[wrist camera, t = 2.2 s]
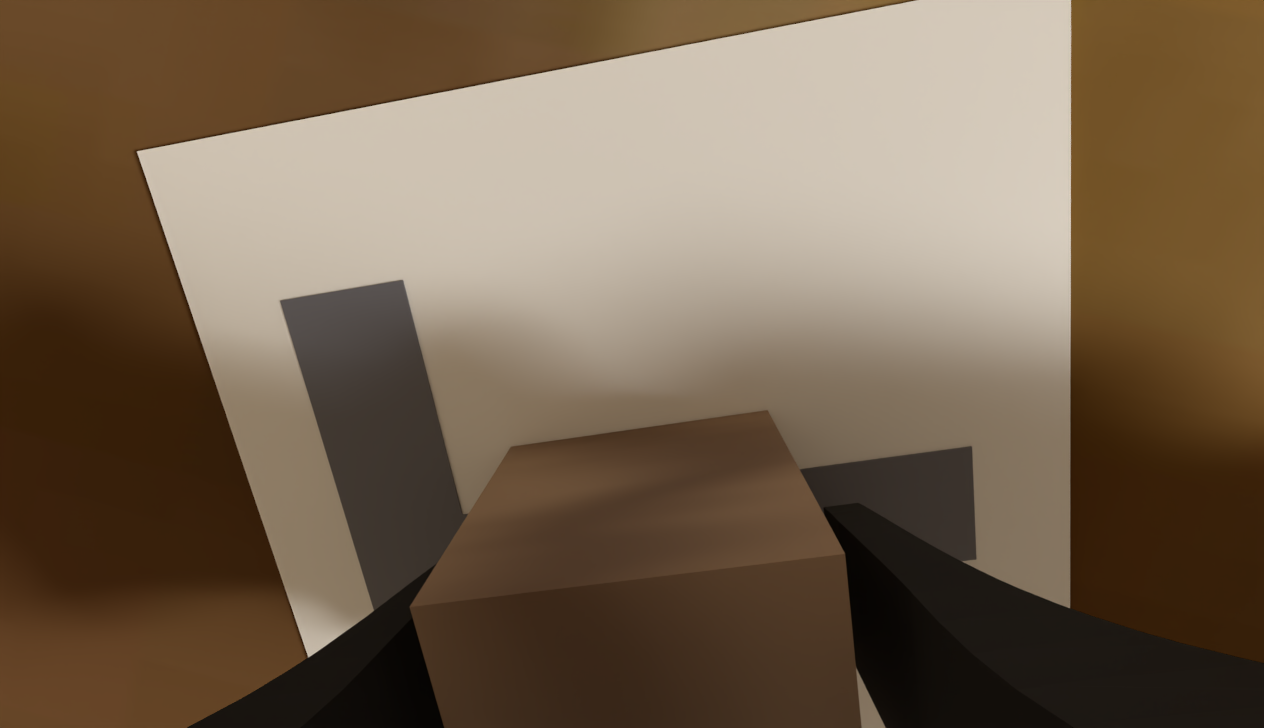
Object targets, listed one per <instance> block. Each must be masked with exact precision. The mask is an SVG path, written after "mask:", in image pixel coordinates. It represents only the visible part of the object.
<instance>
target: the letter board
mask: <svg viewBox="0 0 1264 728" xmlns="http://www.w3.org/2000/svg"><path fill="white" fill-rule="evenodd" d="M137 153H138V156H139V159H140V162H141V165H142V168H143V171H144V174H145V177H146V180H147V183H148V186H149V189H150V192H151V195H152V198H153V201H154V204H155V207H156V209H157V212H158V215H159V218H160V221H161V224H162V227H163V230H164V233H165V236H166V239H167V242H168V245H169V248H170V251H171V254H172V257H173V260H174V263H175V266H176V269H177V271H178V274H179V277H180V280H181V283H182V286H183V289H184V292H185V295H186V298H187V301H188V304H189V307H190V310H191V313H192V316H193V319H194V322H195V325H196V328H197V330H198V333H199V336H200V339H201V342H202V345H203V348H204V351H205V354H206V357H207V360H208V363H209V366H210V369H211V372H212V375H213V378H214V381H215V384H216V387H217V389H218V392H219V395H220V398H221V401H222V404H223V407H224V410H225V413H226V416H227V419H228V422H229V425H230V428H231V431H232V434H233V437H234V440H235V443H236V446H237V448H238V451H239V454H240V457H241V460H242V463H243V466H244V469H245V472H246V475H247V478H248V481H249V484H250V487H251V490H252V493H253V496H254V499H255V502H256V505H257V507H258V510H259V513H260V516H261V519H262V522H263V525H264V528H265V531H266V534H267V537H268V540H269V543H270V546H271V549H272V552H273V555H274V558H275V561H276V564H277V567H278V569H279V572H280V575H281V578H282V581H283V584H284V587H285V590H286V593H287V596H288V599H289V602H290V605H291V608H292V611H293V614H294V617H295V620H296V623H297V626H298V628H299V631H300V634H301V637H302V640H303V643H304V646H305V649H306V652H307V655H308V657H310V656H311V655H313V654H314V653H316V652H317V651H319V650H320V649H322V648H323V647H324V646H326V645H327V644H329V643H330V642H331V641H333V640H334V639H336V638H337V637H338V636H340V635H341V634H343V633H344V632H345V631H347V630H348V629H350V628H351V627H352V626H354V625H355V624H357V623H358V622H359V621H361V620H362V619H364V618H365V617H366V616H368V615H369V614H370V613H372V612H373V611H374V610H376V609H377V608H378V607H380V606H381V605H382V604H383V603H385V602H386V601H387V600H389V599H390V598H391V597H393V596H394V595H395V594H397V593H398V592H399V591H401V590H402V589H403V588H404V587H406V586H407V585H408V584H410V583H411V582H412V581H414V580H415V579H416V578H418V577H419V576H420V575H422V574H423V573H424V572H426V571H427V570H428V569H430V568H431V567H432V566H434V565H435V564H437V563H438V561H439V560H440V558H441V556H442V555H443V553H444V552H445V550H446V549H447V547H448V545H449V544H450V542H451V541H452V539H453V537H454V536H455V534H456V533H457V531H458V530H459V528H460V526H461V525H462V523H463V522H464V520H465V519H466V517H467V515H468V514H469V512H470V511H471V509H472V507H473V506H474V504H475V503H476V501H477V500H478V498H479V496H480V495H481V493H482V492H483V490H484V488H485V487H486V485H487V484H488V482H489V481H490V479H491V477H492V476H493V474H494V473H495V471H496V469H497V468H498V466H499V465H500V463H501V462H502V460H503V458H504V457H505V455H506V454H507V452H508V450H509V449H510V447H513V446H520V445H527V444H534V443H541V442H548V441H555V440H562V439H569V438H576V437H583V436H590V435H597V434H604V433H611V432H618V431H625V430H632V429H639V428H646V427H653V426H660V425H667V424H674V423H681V422H688V421H695V420H702V419H709V418H716V417H723V416H730V415H737V414H744V413H751V412H758V411H765V410H768V412H769V414H770V416H771V417H772V419H773V421H774V423H775V425H776V427H777V429H778V430H779V432H780V434H781V436H782V438H783V440H784V441H785V443H786V445H787V447H788V449H789V451H790V453H791V454H792V456H793V458H794V460H795V462H796V464H797V466H798V467H799V469H800V471H801V473H802V475H803V477H804V478H805V480H806V482H807V484H808V486H809V488H810V490H811V491H812V493H813V495H814V497H815V499H816V501H817V503H818V504H819V506H820V508H821V510H822V512H823V514H824V507H829V506H837V505H845V504H852V503H860V504H861V505H863V506H865V507H867V508H869V509H871V510H872V511H874V512H876V513H877V514H879V515H881V516H882V517H884V518H886V519H887V520H889V521H891V522H892V523H894V524H896V525H898V526H899V527H901V528H903V529H904V530H906V531H908V532H909V533H911V534H913V535H914V536H916V537H918V538H920V539H921V540H923V541H925V542H927V543H928V544H930V545H932V546H934V547H936V548H937V549H939V550H941V551H943V552H945V553H947V554H949V555H950V556H952V557H954V558H956V559H958V560H960V561H962V562H964V563H966V564H968V565H970V566H972V567H974V568H976V569H978V570H980V571H982V572H984V573H986V574H988V575H990V576H993V577H995V578H997V579H999V580H1001V581H1003V582H1006V583H1008V584H1010V585H1012V586H1015V587H1017V588H1019V589H1022V590H1024V591H1027V592H1029V593H1032V594H1034V595H1037V596H1039V597H1042V598H1044V599H1047V600H1049V601H1052V602H1054V603H1057V604H1059V605H1062V606H1065V607H1067V608H1070V341H1071V0H916V1H911V2H906V3H901V4H896V5H891V6H885V7H880V8H875V9H870V10H865V11H860V12H854V13H849V14H844V15H839V16H834V17H829V18H823V19H818V20H813V21H808V22H803V23H798V24H792V25H787V26H782V27H777V28H772V29H767V30H761V31H756V32H751V33H746V34H741V35H736V36H730V37H725V38H720V39H715V40H710V41H705V42H700V43H694V44H689V45H684V46H679V47H674V48H669V49H663V50H658V51H653V52H648V53H643V54H638V55H632V56H627V57H622V58H617V59H612V60H607V61H601V62H596V63H591V64H586V65H581V66H576V67H570V68H565V69H560V70H555V71H550V72H545V73H539V74H534V75H529V76H524V77H519V78H514V79H508V80H503V81H498V82H493V83H488V84H483V85H477V86H472V87H467V88H462V89H457V90H452V91H446V92H441V93H436V94H431V95H426V96H421V97H415V98H410V99H405V100H400V101H395V102H390V103H384V104H379V105H374V106H369V107H364V108H359V109H353V110H348V111H343V112H338V113H333V114H328V115H322V116H317V117H312V118H307V119H302V120H297V121H292V122H286V123H281V124H276V125H271V126H266V127H261V128H255V129H250V130H245V131H240V132H235V133H230V134H224V135H219V136H214V137H209V138H204V139H199V140H193V141H188V142H183V143H178V144H173V145H168V146H162V147H157V148H152V149H147V150H142V151H137ZM856 673H857V684H858V694H859V705H860V716H861V726H862V728H885V726H884V724H883V721H882V719H881V717H880V715H879V713H878V711H877V709H876V707H875V705H874V703H873V701H872V699H871V697H870V695H869V693H868V691H867V689H866V687H865V685H864V683H863V681H862V679H861V677H860V675H859V673H858V670H857V668H856Z"/></svg>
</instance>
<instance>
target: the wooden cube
mask: <svg viewBox="0 0 1264 728" xmlns="http://www.w3.org/2000/svg"><path fill="white" fill-rule="evenodd" d="M410 610H411V614H412V617H413V621H414V624H415V628H416V631H417V635H418V638H419V642H420V645H421V649H422V652H423V656H424V659H425V663H426V666H427V670H428V673H429V676H430V680H431V683H432V687H433V690H434V694H435V697H436V701H437V704H438V708H439V711H440V715H441V718H442V722H443V725H444V728H862V726H861V716H860V705H859V694H858V684H857V673H856V663H855V652H854V642H853V631H852V621H851V610H850V599H849V589H848V578H847V568H846V557H845V553H844V551H843V549H842V547H841V545H840V543H839V541H838V540H837V538H836V536H835V534H834V532H833V530H832V528H831V527H830V525H829V523H828V521H827V519H826V517H825V516H824V514H823V512H822V510H821V508H820V506H819V504H818V503H817V501H816V499H815V497H814V495H813V493H812V491H811V490H810V488H809V486H808V484H807V482H806V480H805V478H804V477H803V475H802V473H801V471H800V469H799V467H798V466H797V464H796V462H795V460H794V458H793V456H792V454H791V453H790V451H789V449H788V447H787V445H786V443H785V441H784V440H783V438H782V436H781V434H780V432H779V430H778V429H777V427H776V425H775V423H774V421H773V419H772V417H771V416H770V414H769V412H768V410H765V411H758V412H751V413H744V414H737V415H730V416H723V417H716V418H709V419H702V420H695V421H688V422H681V423H674V424H667V425H660V426H653V427H646V428H639V429H632V430H625V431H618V432H611V433H604V434H597V435H590V436H583V437H576V438H569V439H562V440H555V441H548V442H541V443H534V444H527V445H520V446H513V447H510V449H509V450H508V452H507V454H506V455H505V457H504V458H503V460H502V462H501V463H500V465H499V466H498V468H497V469H496V471H495V473H494V474H493V476H492V477H491V479H490V481H489V482H488V484H487V485H486V487H485V488H484V490H483V492H482V493H481V495H480V496H479V498H478V500H477V501H476V503H475V504H474V506H473V507H472V509H471V511H470V512H469V514H468V515H467V517H466V519H465V520H464V522H463V523H462V525H461V526H460V528H459V530H458V531H457V533H456V534H455V536H454V537H453V539H452V541H451V542H450V544H449V545H448V547H447V549H446V550H445V552H444V553H443V555H442V556H441V558H440V560H439V561H438V563H437V564H436V566H435V568H434V569H433V571H432V572H431V574H430V575H429V577H428V579H427V580H426V582H425V583H424V585H423V587H422V588H421V590H420V591H419V593H418V594H417V596H416V598H415V599H414V601H413V602H412V604H411V606H410Z"/></svg>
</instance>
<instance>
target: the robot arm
mask: <svg viewBox="0 0 1264 728" xmlns="http://www.w3.org/2000/svg"><path fill="white" fill-rule="evenodd" d="M824 516H825V517H826V519H827V521H828V523H829V525H830V527H831V528H832V530H833V532H834V534H835V536H836V538H837V540H838V541H839V543H840V545H841V547H842V549H843V551H844V553H845V557H846V568H847V578H848V589H849V599H850V610H851V621H852V631H853V642H854V652H855V663H856V668H857V670H858V673H859V675H860V677H861V679H862V681H863V683H864V685H865V687H866V689H867V691H868V693H869V695H870V697H871V699H872V701H873V703H874V705H875V707H876V709H877V711H878V713H879V715H880V717H881V719H882V721H883V724H884V726H885V728H1264V663H1261V662H1256V661H1252V660H1247V659H1243V658H1239V657H1235V656H1231V655H1227V654H1223V653H1219V652H1215V651H1211V650H1207V649H1203V648H1198V647H1194V646H1190V645H1186V644H1182V643H1179V642H1175V641H1172V640H1168V639H1165V638H1161V637H1157V636H1154V635H1150V634H1147V633H1143V632H1140V631H1137V630H1134V629H1131V628H1127V627H1124V626H1121V625H1118V624H1115V623H1112V622H1109V621H1106V620H1103V619H1099V618H1096V617H1093V616H1090V615H1087V614H1084V613H1082V612H1079V611H1076V610H1073V609H1070V608H1067V607H1065V606H1062V605H1059V604H1057V603H1054V602H1052V601H1049V600H1047V599H1044V598H1042V597H1039V596H1037V595H1034V594H1032V593H1029V592H1027V591H1024V590H1022V589H1019V588H1017V587H1015V586H1012V585H1010V584H1008V583H1006V582H1003V581H1001V580H999V579H997V578H995V577H993V576H990V575H988V574H986V573H984V572H982V571H980V570H978V569H976V568H974V567H972V566H970V565H968V564H966V563H964V562H962V561H960V560H958V559H956V558H954V557H952V556H950V555H949V554H947V553H945V552H943V551H941V550H939V549H937V548H936V547H934V546H932V545H930V544H928V543H927V542H925V541H923V540H921V539H920V538H918V537H916V536H914V535H913V534H911V533H909V532H908V531H906V530H904V529H903V528H901V527H899V526H898V525H896V524H894V523H892V522H891V521H889V520H887V519H886V518H884V517H882V516H881V515H879V514H877V513H876V512H874V511H872V510H871V509H869V508H867V507H865V506H863V505H861V504H860V503H852V504H845V505H837V506H829V507H824ZM435 566H436V564H435V565H434V566H432V567H431V568H430V569H428V570H427V571H426V572H424V573H423V574H422V575H420V576H419V577H418V578H416V579H415V580H414V581H412V582H411V583H410V584H408V585H407V586H406V587H404V588H403V589H402V590H401V591H399V592H398V593H397V594H395V595H394V596H393V597H391V598H390V599H389V600H387V601H386V602H385V603H383V604H382V605H381V606H380V607H378V608H377V609H376V610H374V611H373V612H372V613H370V614H369V615H368V616H366V617H365V618H364V619H362V620H361V621H359V622H358V623H357V624H355V625H354V626H352V627H351V628H350V629H348V630H347V631H345V632H344V633H343V634H341V635H340V636H338V637H337V638H336V639H334V640H333V641H331V642H330V643H329V644H327V645H326V646H324V647H323V648H322V649H320V650H319V651H317V652H316V653H314V654H313V655H311V656H310V657H308V658H307V659H305V660H304V661H302V662H301V663H299V664H298V665H296V666H295V667H293V668H292V669H290V670H288V671H287V672H285V673H284V674H282V675H280V676H279V677H277V678H275V679H274V680H272V681H270V682H269V683H267V684H265V685H264V686H262V687H261V688H259V689H257V690H256V691H254V692H252V693H250V694H249V695H247V696H245V697H243V698H242V699H240V700H238V701H236V702H234V703H232V704H231V705H229V706H227V707H225V708H223V709H221V710H219V711H217V712H215V713H214V714H212V715H210V716H208V717H206V718H204V719H202V720H200V721H199V722H197V723H195V724H193V725H191V726H189V727H187V728H444V725H443V722H442V718H441V715H440V711H439V708H438V704H437V701H436V697H435V694H434V690H433V687H432V683H431V680H430V676H429V673H428V670H427V666H426V663H425V659H424V656H423V652H422V649H421V645H420V642H419V638H418V635H417V631H416V628H415V624H414V621H413V617H412V614H411V610H410V606H411V604H412V602H413V601H414V599H415V598H416V596H417V594H418V593H419V591H420V590H421V588H422V587H423V585H424V583H425V582H426V580H427V579H428V577H429V575H430V574H431V572H432V571H433V569H434V568H435Z"/></svg>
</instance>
